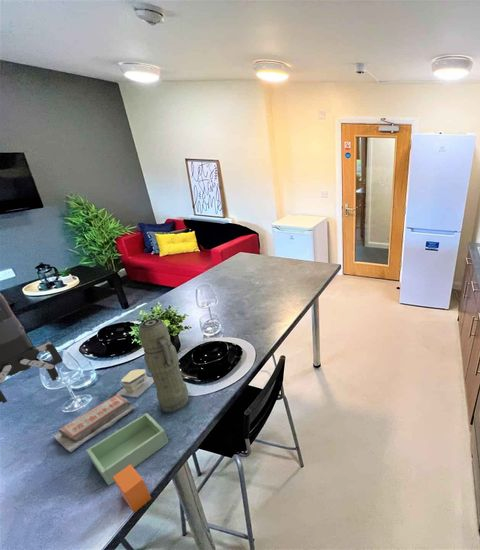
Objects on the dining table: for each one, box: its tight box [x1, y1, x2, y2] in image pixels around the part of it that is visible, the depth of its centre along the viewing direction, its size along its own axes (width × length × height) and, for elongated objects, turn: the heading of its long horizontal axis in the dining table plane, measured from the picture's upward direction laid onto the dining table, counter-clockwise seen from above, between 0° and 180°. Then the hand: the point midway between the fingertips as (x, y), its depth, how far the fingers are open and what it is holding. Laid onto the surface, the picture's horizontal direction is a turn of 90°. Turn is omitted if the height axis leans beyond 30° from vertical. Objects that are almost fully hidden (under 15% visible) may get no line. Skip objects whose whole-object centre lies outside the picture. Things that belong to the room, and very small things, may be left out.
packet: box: [113, 464, 152, 514], centre depth 76 cm, size 4×7×8 cm, turn 58°
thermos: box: [138, 318, 190, 413], centre depth 99 cm, size 9×12×35 cm
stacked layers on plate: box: [116, 368, 154, 398], centre depth 111 cm, size 10×9×6 cm
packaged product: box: [53, 393, 135, 453], centre depth 96 cm, size 18×5×10 cm
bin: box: [85, 412, 169, 486], centre depth 88 cm, size 16×12×6 cm
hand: (30, 389), depth 72 cm, fingers open, 8 cm apart
